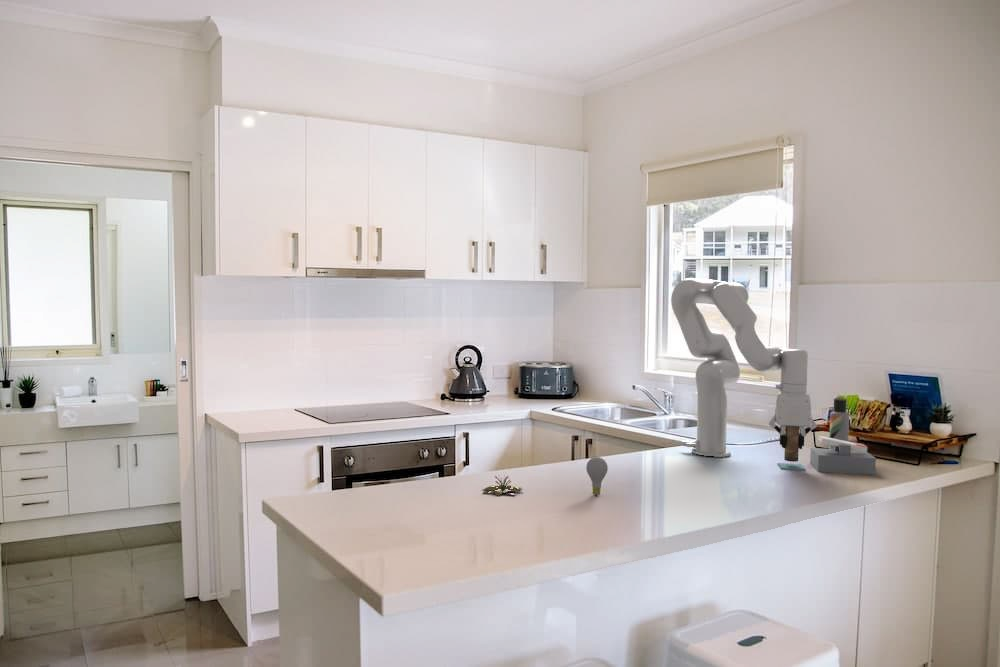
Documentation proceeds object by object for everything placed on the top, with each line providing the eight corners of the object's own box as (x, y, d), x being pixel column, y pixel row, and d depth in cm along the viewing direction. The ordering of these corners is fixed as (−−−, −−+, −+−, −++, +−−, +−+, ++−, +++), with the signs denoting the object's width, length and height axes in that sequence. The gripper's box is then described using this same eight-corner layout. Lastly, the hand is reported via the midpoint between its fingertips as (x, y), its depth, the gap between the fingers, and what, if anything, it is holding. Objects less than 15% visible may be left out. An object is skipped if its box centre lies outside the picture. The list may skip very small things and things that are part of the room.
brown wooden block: (785, 461, 231) (787, 416, 230) (783, 458, 235) (784, 414, 234) (799, 461, 230) (800, 416, 229) (796, 459, 234) (798, 414, 233)
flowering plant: (519, 500, 190) (519, 482, 190) (474, 497, 193) (474, 479, 193) (529, 489, 201) (529, 472, 201) (486, 486, 204) (486, 469, 204)
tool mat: (781, 469, 230) (781, 467, 230) (777, 464, 236) (777, 462, 236) (805, 470, 228) (805, 468, 228) (801, 465, 235) (801, 464, 235)
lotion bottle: (844, 456, 251) (846, 397, 250) (850, 460, 245) (852, 399, 244) (826, 456, 251) (828, 396, 250) (832, 459, 246) (834, 398, 245)
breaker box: (818, 471, 227) (818, 445, 227) (810, 463, 239) (810, 438, 238) (875, 474, 224) (876, 448, 223) (864, 466, 235) (865, 441, 235)
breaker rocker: (821, 442, 230) (822, 437, 230) (818, 440, 235) (819, 434, 234) (866, 452, 227) (867, 447, 227) (862, 449, 232) (863, 444, 232)
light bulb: (608, 494, 196) (609, 456, 195) (604, 499, 190) (605, 460, 190) (588, 492, 197) (589, 454, 197) (583, 497, 192) (584, 458, 192)
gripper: (766, 389, 229) (764, 448, 230) (825, 391, 226) (823, 451, 227) (763, 386, 237) (761, 444, 237) (820, 388, 233) (818, 447, 234)
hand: (791, 447), depth 232 cm, fingers open, 4 cm apart
